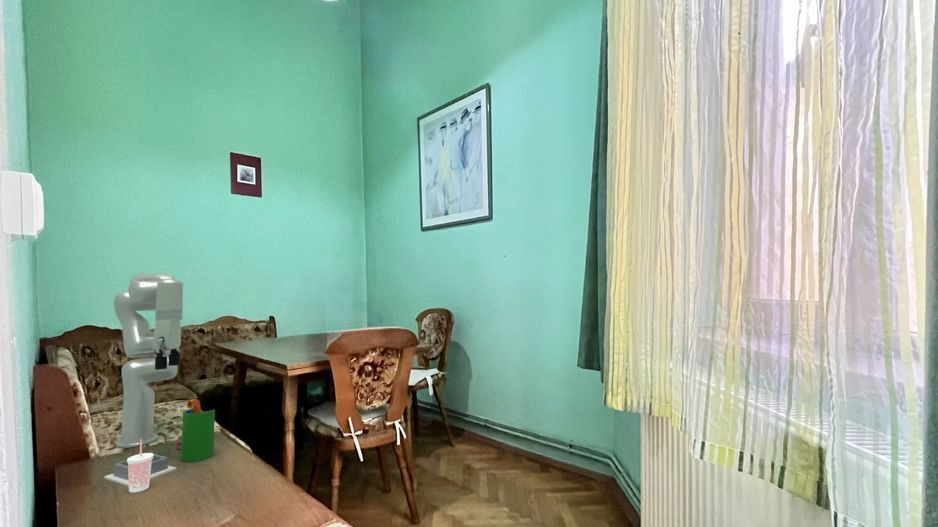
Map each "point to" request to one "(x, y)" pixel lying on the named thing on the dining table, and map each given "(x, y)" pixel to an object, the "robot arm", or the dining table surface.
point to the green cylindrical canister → (197, 433)
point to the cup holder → (157, 469)
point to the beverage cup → (139, 470)
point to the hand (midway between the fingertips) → (167, 367)
